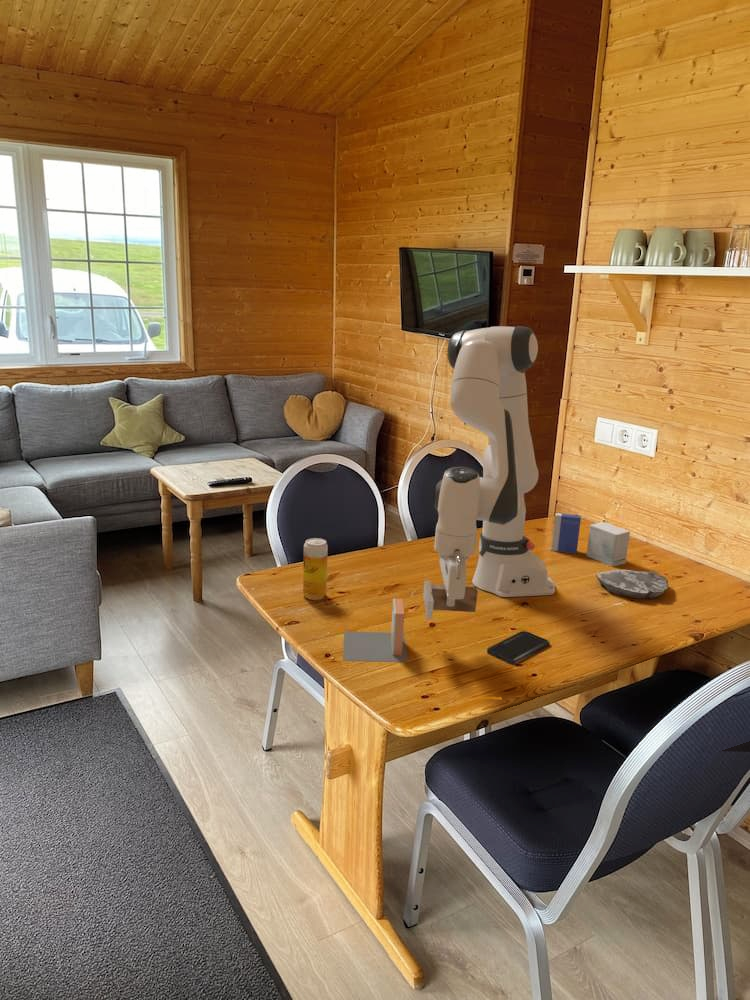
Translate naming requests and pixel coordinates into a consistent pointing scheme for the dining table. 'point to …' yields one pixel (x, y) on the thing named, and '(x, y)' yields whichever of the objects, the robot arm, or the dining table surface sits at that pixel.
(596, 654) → the dining table surface
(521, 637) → the phone
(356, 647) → the charcoal mat
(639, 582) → the grey stone slab
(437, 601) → the walnut scraper
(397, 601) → the terracotta tile
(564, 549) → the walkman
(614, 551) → the skincare box
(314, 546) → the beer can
